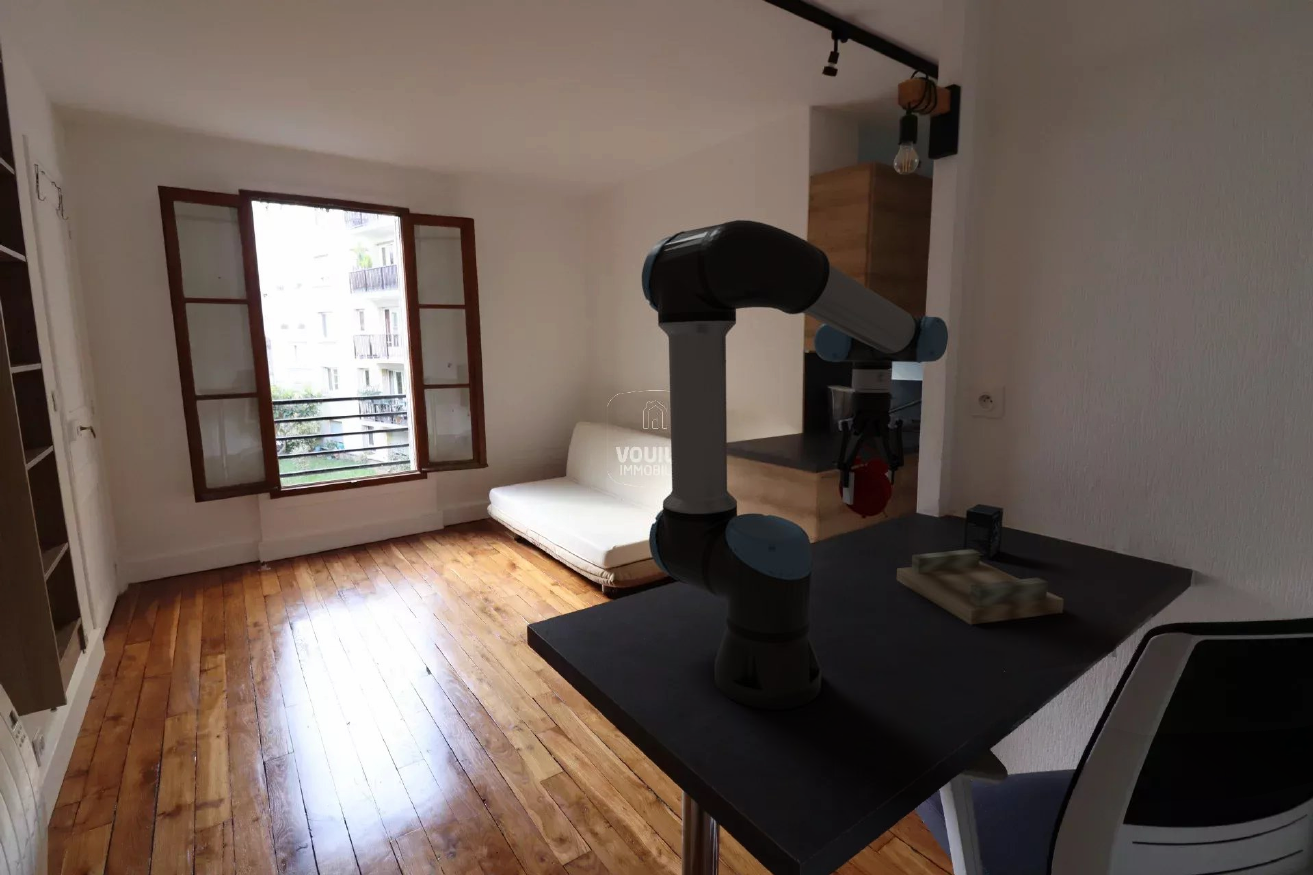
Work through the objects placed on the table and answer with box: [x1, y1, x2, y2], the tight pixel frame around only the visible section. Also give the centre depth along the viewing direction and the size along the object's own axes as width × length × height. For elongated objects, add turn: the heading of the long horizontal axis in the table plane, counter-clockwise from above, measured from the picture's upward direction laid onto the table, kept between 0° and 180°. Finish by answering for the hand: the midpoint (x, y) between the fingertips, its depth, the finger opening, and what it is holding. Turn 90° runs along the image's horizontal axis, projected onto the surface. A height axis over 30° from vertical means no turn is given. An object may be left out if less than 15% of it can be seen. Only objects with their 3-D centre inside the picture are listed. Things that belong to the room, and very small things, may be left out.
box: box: [963, 503, 1004, 561], centre depth 140 cm, size 8×6×11 cm
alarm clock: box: [838, 445, 893, 519], centre depth 125 cm, size 10×6×15 cm, turn 45°
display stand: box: [896, 549, 1065, 626], centre depth 116 cm, size 19×21×6 cm
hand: (866, 501), depth 126 cm, fingers closed on alarm clock, 8 cm apart
